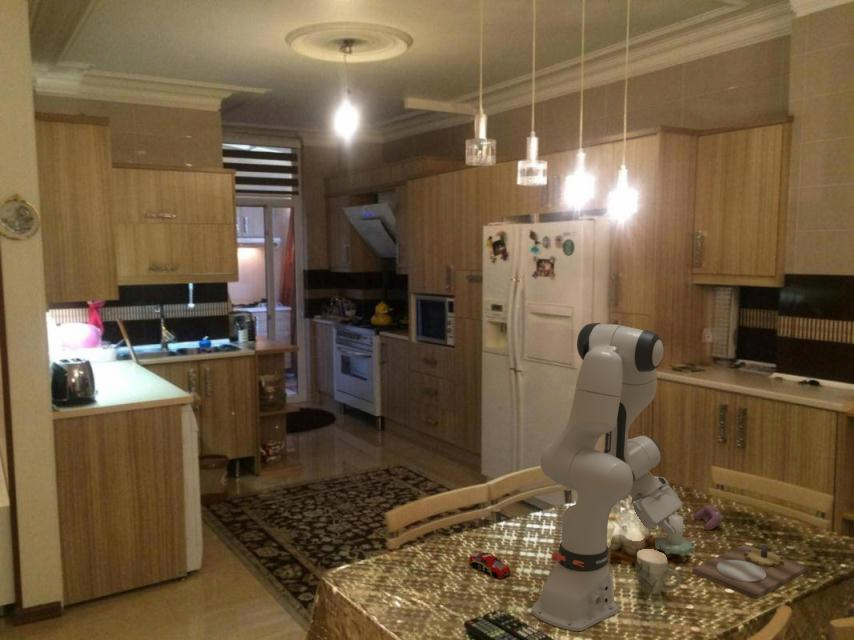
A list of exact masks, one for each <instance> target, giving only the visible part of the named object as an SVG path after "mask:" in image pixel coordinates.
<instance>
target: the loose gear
mask: <svg viewBox="0 0 854 640" xmlns="http://www.w3.org/2000/svg"><path fill="white" fill-rule="evenodd" d="M667 524H668V525H670V526H671V527H673V528H674V529H675V530H676V533H675V534H673V535H672V536H670V535H669V534H668V533H667V534H665V535H664V536H661V537H658V536H655V538H654V539H655V540H654V545H655V546H654V548H655V549H657V550H661V551H662V552H664V554H666V555H669V554H674V555H680V557H684V556H685V555H686V554H689V553H691V554H694V553H695V551H696V550H695V549H696V547H695V542H694V541H689V540H687V539H685V537H683V534H684V533H683V530H684V529H683V528H684V516H682V515H679V514H678V515H675V514H671V515H669V516H668V517H667Z"/></svg>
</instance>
